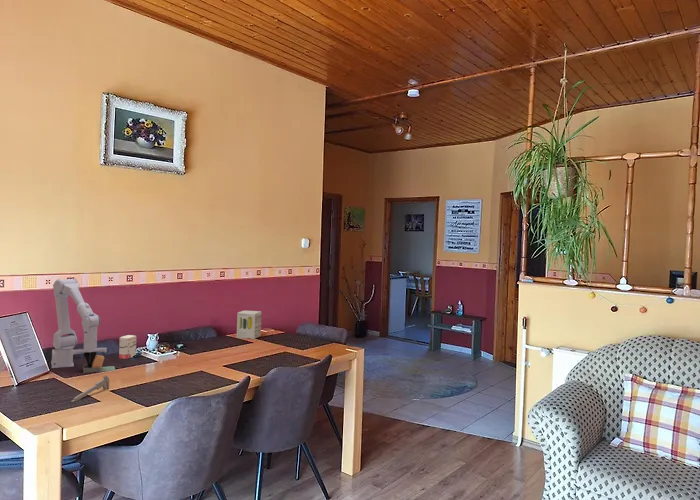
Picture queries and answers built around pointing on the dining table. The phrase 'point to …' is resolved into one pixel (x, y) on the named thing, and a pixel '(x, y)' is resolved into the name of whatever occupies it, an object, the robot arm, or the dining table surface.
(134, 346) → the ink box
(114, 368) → the pad
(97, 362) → the block
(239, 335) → the supplement box
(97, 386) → the caliper
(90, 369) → the case
